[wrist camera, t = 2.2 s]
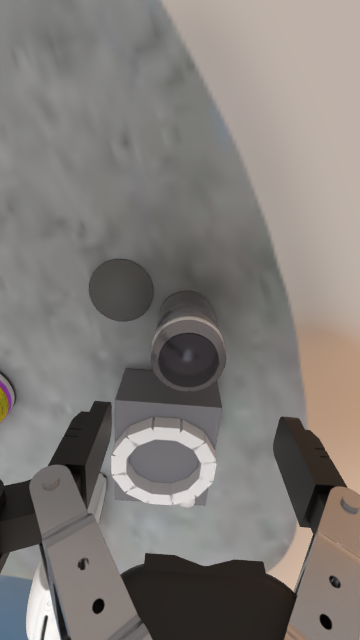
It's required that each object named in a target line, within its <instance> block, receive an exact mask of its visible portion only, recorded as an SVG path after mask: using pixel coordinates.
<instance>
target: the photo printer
mask: <svg viewBox="0 0 360 640" xmlns="http://www.w3.org/2000/svg"><path fill="white" fill-rule="evenodd" d="M105 491H106V478H105V477H103V475H102V474H101V473H99V476H98V479H97V482H96V485H95V488H94V491H93V494H92V497H91V500H90V504H89V507H88V510H87V511H88V513H89V514H90V513H92V514H93V515H94V517H95V519H96V521H97V523H98V522H99V519H100V515H101V511H102V506H103V502H104V497H105ZM26 628H27V629H26V630H27V635H28V638H29V640H60V636H59V632H58V628H57V623H56V619H55V615H54V610H53V605H52V600H51V595H50V591H49V587H48V583H47V579H46V575H45V571H44V567H43V563H42V559H41V560H40V562H39V565H38V567H37V570H36V573H35V576H34V579H33V583H32V587H31V592H30V596H29V602H28V607H27V617H26Z"/></svg>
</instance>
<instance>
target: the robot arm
mask: <svg viewBox="0 0 360 640" xmlns="http://www.w3.org/2000/svg"><path fill="white" fill-rule="evenodd" d="M111 429H112V406H111V402H101V401H95V402H94V403H93V405H92V407H91V410H90V412H83V411H81V412H80V413H79V414H78V415H77V416H76V417H74V418H73V420H72V422H71V423H70V425H69V427H68V429H67V431H66V433H65V435H64V437H63V439H62V440H61V442H60V444H59V446H58V448H57V450H56V452H55V454H54V455H53V457H52V459H51V461H50V463H49V465H48V466H47V467H45V468H43V469H41V470H40V471H39V472H37V473H36V474H35V475H34V477H33V478H32V479H31V480H28V481H25V482H21V483H16V484H11V485H6V486H4V484H3V482H2V481H1V480H0V573H1V571H2V568H3V566H4V564H5V562H6V559H7V557H8V555H9V553H10V552H11V551H15V550H19V549H22V548H26V547H30V546H33V545H37V544H38V546H39V550H40V555H41V559H42V563H43V567H44V571H45V575H46V579H47V583H48V587H49V591H50V595H51V600H52V605H53V610H54V615H55V619H56V623H57V628H58V632H59V636H60V640H359V639H360V495H359V494H358V493H356V492H355V491H353V490H351V489H349V488H347V486H346V484H345V483H344V481H343V479H342V477H341V476H340V474H339V472H338V470H337V469H336V467H335V465H334V464H333V462H332V460H331V459H330V458H329V455H328V453H327V452H326V451H325V448H324V447H323V445H322V443H321V442H320V440H319V438H317V436H315V435H314V434H313V433H312V432H311V431H310V430H305V429H304V427H303V425H302V423H301V421H300V420H299V419H298V418H292V417H281V418H280V420H279V423H278V427H277V431H276V435H275V438H274V443H273V450H274V456H275V459H276V461H277V464H278V467H279V470H280V472H281V475H282V478H283V481H284V483H285V486H286V489H287V492H288V495H289V497H290V500H291V503H292V506H293V508H294V511H295V514H296V517H297V519H298V522H299V525H300V527H308V528H311V530H312V532H313V536H312V539H311V543H310V545H309V548H308V551H307V554H306V557H305V560H304V563H303V566H302V569H301V572H300V575H299V578H298V581H297V584H296V586H295V589H294V592H293V591H292V590H291V589H290V588H288V587H287V586H286V585H285V584H284V583H282V582H281V581H279V580H278V579H276V578H275V577H273V576H271V575H269V574H266V572H265V568H264V563H263V562H260V561H247V560H231V561H227V562H223V563H219V564H215V565H211V566H201V565H199V564H196V563H194V562H191V561H188V560H186V559H183V558H180V557H178V556H175V555H164V554H150V553H145V562H144V564H141V565H138V566H135V567H133V568H130V569H129V570H127V571H125V572H123V573H122V574H121V575H120V573H119V571H118V569H117V566H116V564H115V562H114V560H113V557H112V555H111V553H110V551H109V548H108V546H107V544H106V541H105V539H104V537H103V535H102V532H101V530H100V528H99V526H98V523H97V521H96V519H95V517H94V515H93V514H92V513H90V514H89V513H88V511H87V510H88V507H89V504H90V500H91V497H92V494H93V491H94V488H95V485H96V482H97V479H98V476H99V473H100V469H101V466H102V463H103V460H104V457H105V454H106V451H107V448H108V445H109V441H110V437H111Z"/></svg>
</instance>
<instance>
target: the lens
mask: <svg viewBox="0 0 360 640" xmlns="http://www.w3.org/2000/svg"><path fill="white" fill-rule="evenodd" d="M151 364H152V368H153V371H154V373H155V374H156V376H157V377H158V378H159V380H160V381H162V382H163V383H164V384H165V385H167V386H169V387H171V388H173V389H176V390H179V391H197V390H201V389H204V388H206V387H208V386H210V385H211V384H213V383H214V382H215V381H216V380H217V379H218V378H219V377H220V376H221V374H222V372H223V370H224V368H225V364H226V353H225V344H224V340H223V337H222V334H221V332H220V331H219V329H218V325H217V322H216V319H215V315H214V312H213V309H212V306H211V304H210V303H209V301H208V300H207V299H206V298H205V297H204V296H202V295H201V294H199V293H196V292H193V291H181V292H177V293H175V294H173V295H171V296H170V297H168V298H167V299H166V301H165V302H164V303H163V305H162V307H161V310H160V314H159V319H158V324H157V329H156V333H155V335H154V338H153V341H152V346H151Z"/></svg>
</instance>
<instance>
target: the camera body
mask: <svg viewBox="0 0 360 640" xmlns="http://www.w3.org/2000/svg"><path fill="white" fill-rule="evenodd" d="M221 412H222V405H221V400H220V395H219V390H218V385H217V380H216V381H215V382H214V383H213V384H211V385H210V386H208V387H206V388H204V389H201V390H197V391H179V390H176V389H173V388H171V387H169V386H167V385H165V384H164V383H163V382H162V381H160V380H159V378H158V377H157V376H156V374H155V373H154V371H153V370H140V369H127V368H126V370H125V373H124V376H123V379H122V382H121V384H120V387H119V390H118V393H117V396H116V399H115V445H114V448H113V452H112V455H111V474H113V475H112V477H113V478H114V479H115V500H126V501H141V502H145V503H147V502H149V504H162V505H172V504H174V505H176V504H179V505H180V506H182V507H186V508H187V507H191V506H193V505H203V506H205V504H206V499H207V493H208V487H209V486H210V485H211V484H212V481H213V480H214V475H215V469H216V464H217V462H216V455H215V447H216V441H217V435H218V429H219V423H220V418H221Z"/></svg>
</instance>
